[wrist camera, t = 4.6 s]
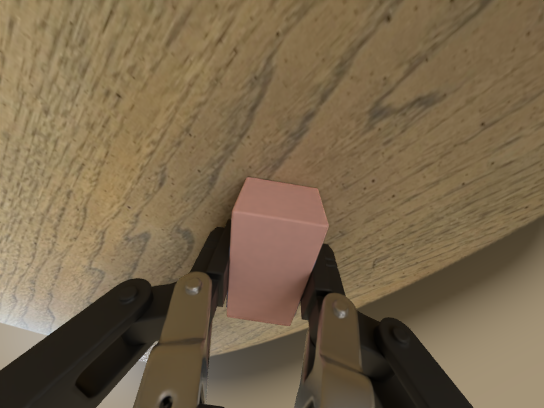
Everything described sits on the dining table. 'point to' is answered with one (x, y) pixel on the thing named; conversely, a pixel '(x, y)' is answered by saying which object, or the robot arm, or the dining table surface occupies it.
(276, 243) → the eraser
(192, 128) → the dining table surface
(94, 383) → the robot arm
